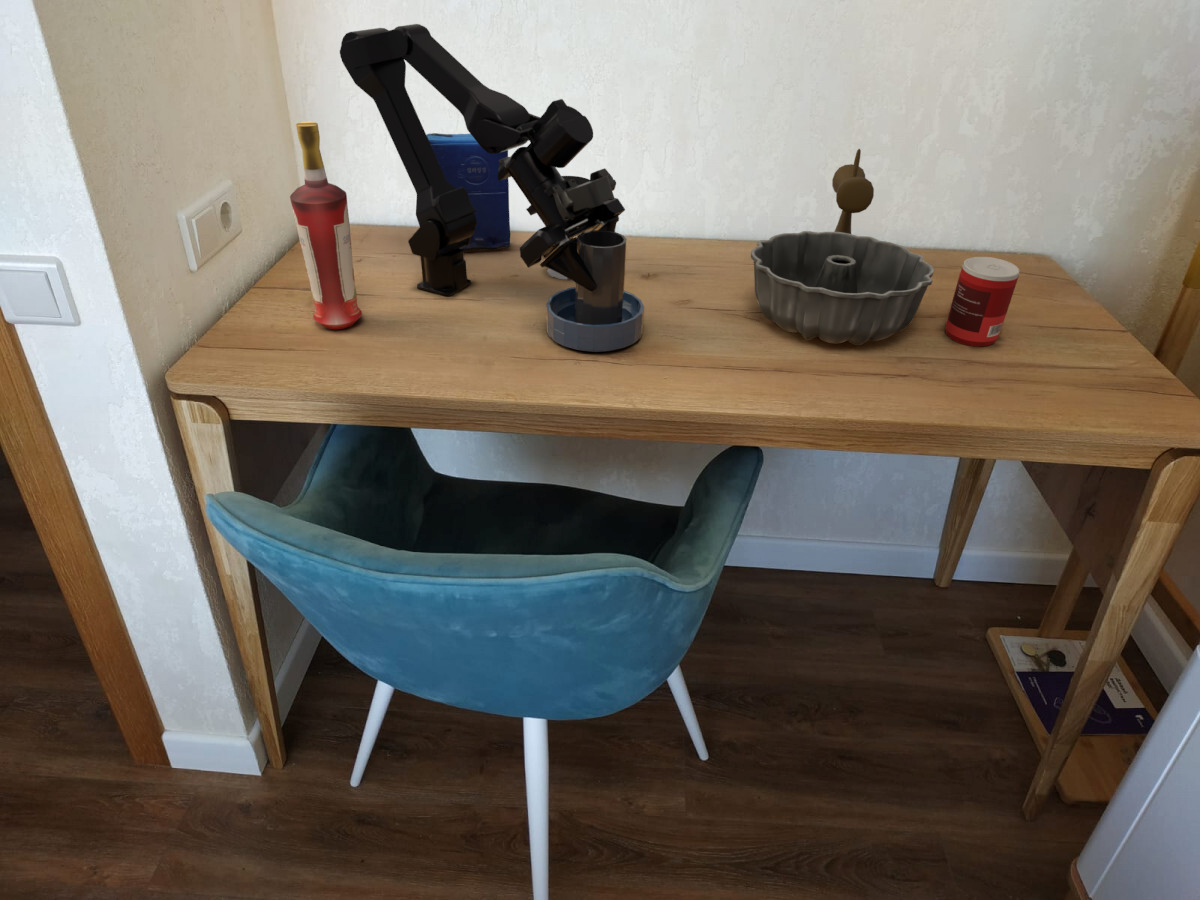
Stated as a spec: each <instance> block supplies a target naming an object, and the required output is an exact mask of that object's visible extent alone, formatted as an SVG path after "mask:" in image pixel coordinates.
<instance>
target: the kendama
mask: <svg viewBox="0 0 1200 900" xmlns="http://www.w3.org/2000/svg"><path fill="white" fill-rule="evenodd" d="M861 152H862V150H861V148H858V149H857V150H856V154H855V156H854V161H853V164H852V163H851V164H844V165H842V166H840V167H838V169H836V171H835V172H834V174H833V177H832V179H831V181H832V183H831V185H832V189H833V191H834V193H835V194H836V196H835V199H836V201H835V202H836V204H837V206H838V208H839V209H840V210H841V213H840V216H839V218H838V222H837V224H836V227H835V229H834V231H833V232H842V233H848V234H852V215H853V214H858V213H862V212H863V211H866V210H867V209H868V208H869V206H870V205H871V204H872V201H873V199H874V196H875V195H874V193H875V188H874V186H873V183H872V182H871V181H870V180H869V179H867V178H866V173H865V170H864V169H863V168H862V167H861V166H860V161H861V154H862V153H861Z"/></svg>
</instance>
